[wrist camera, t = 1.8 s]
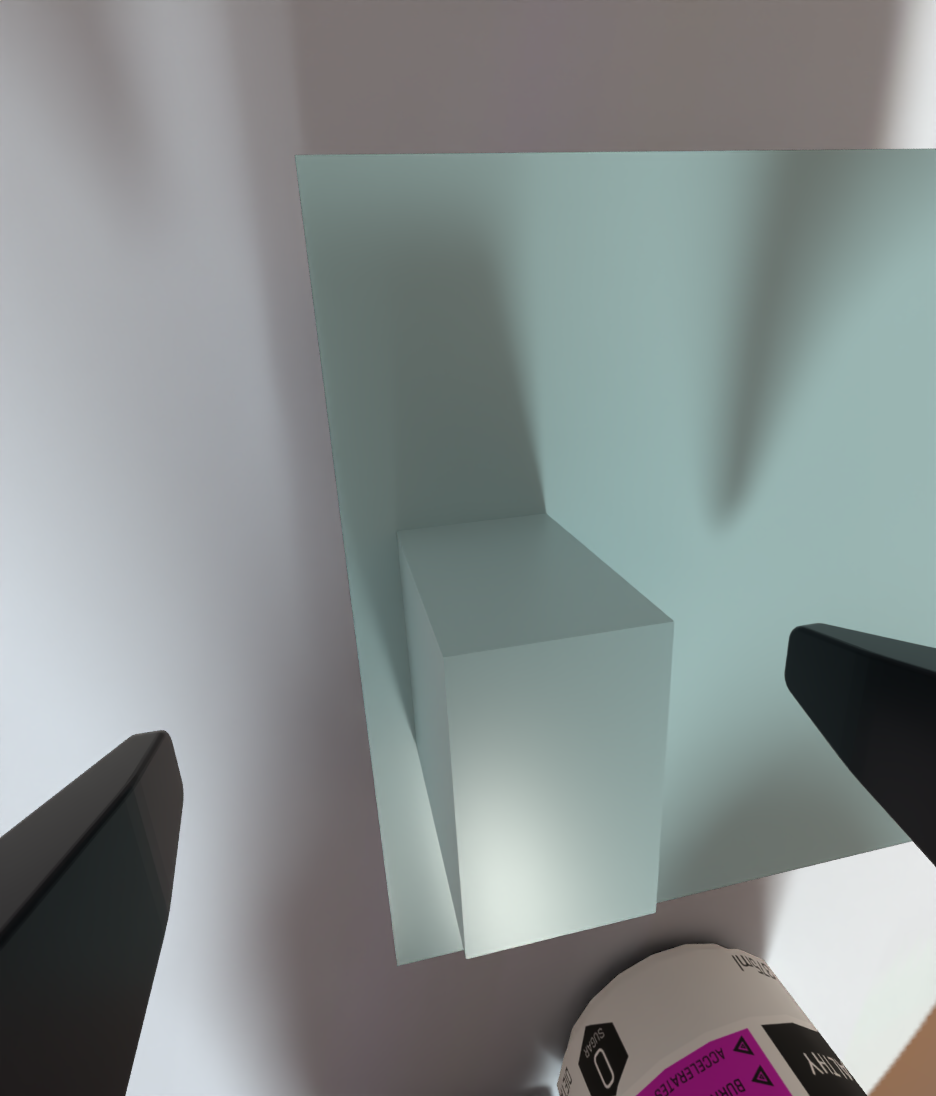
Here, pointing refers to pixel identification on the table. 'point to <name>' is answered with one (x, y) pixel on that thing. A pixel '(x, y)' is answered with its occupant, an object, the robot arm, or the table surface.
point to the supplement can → (699, 1033)
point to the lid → (618, 509)
